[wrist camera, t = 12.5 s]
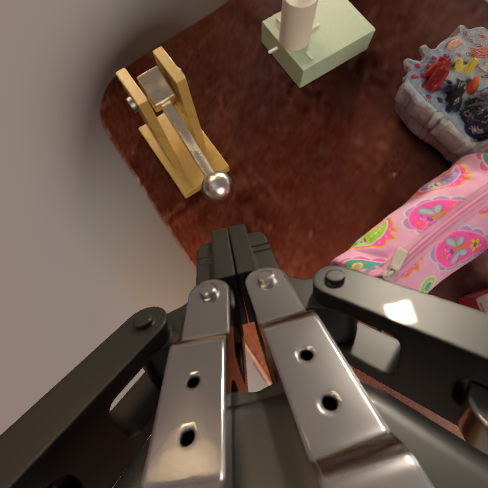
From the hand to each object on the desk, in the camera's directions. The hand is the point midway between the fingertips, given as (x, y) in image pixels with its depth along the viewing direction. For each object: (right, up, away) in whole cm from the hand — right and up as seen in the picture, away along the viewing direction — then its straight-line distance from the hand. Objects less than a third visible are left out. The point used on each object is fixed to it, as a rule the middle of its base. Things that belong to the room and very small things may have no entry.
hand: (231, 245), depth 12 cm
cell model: (+29, +15, +25) cm, 41 cm away
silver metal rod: (-6, +11, +18) cm, 21 cm away
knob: (+7, +28, +25) cm, 38 cm away
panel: (+10, +29, +28) cm, 41 cm away
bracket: (-8, +13, +25) cm, 29 cm away
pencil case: (+20, -1, +21) cm, 29 cm away
